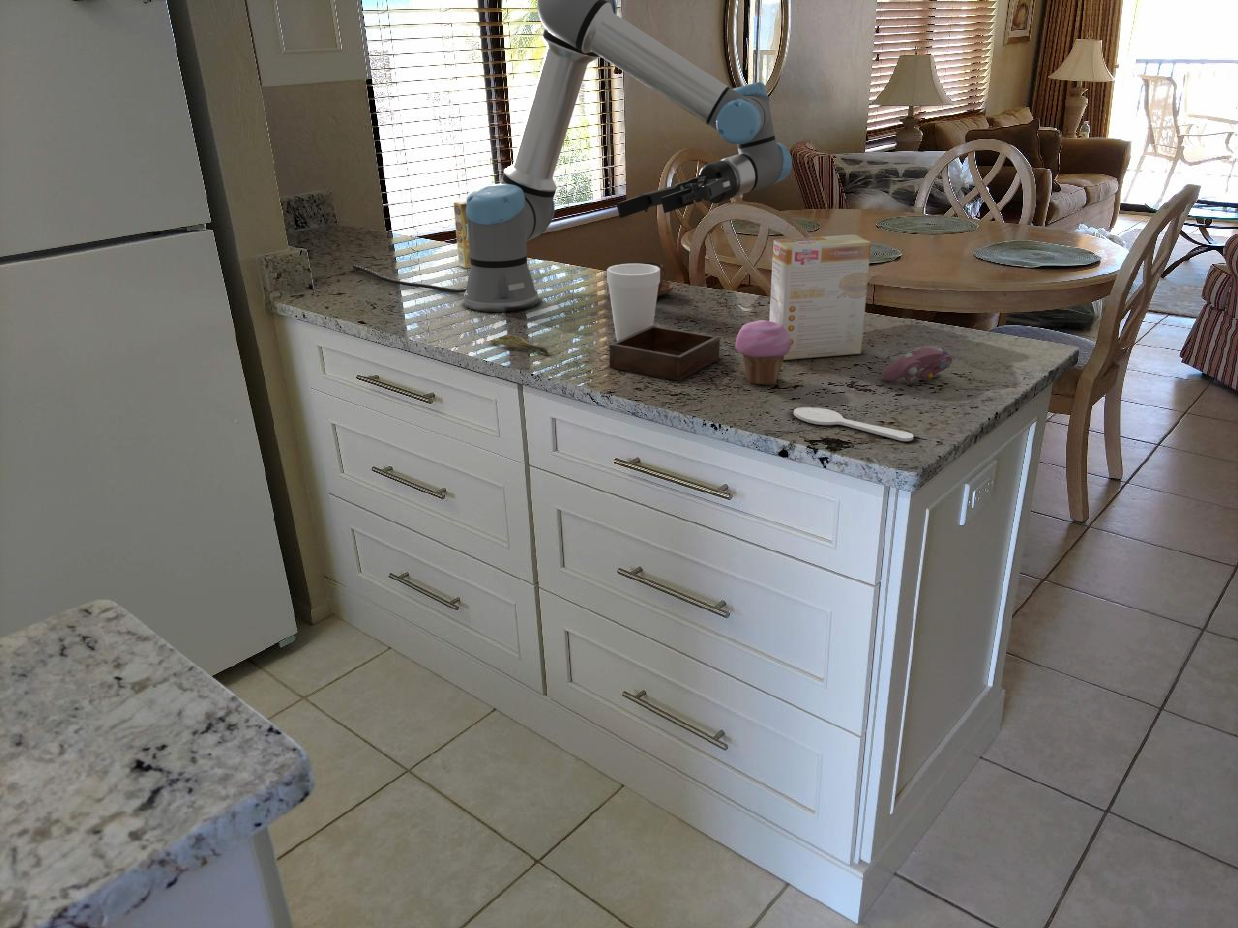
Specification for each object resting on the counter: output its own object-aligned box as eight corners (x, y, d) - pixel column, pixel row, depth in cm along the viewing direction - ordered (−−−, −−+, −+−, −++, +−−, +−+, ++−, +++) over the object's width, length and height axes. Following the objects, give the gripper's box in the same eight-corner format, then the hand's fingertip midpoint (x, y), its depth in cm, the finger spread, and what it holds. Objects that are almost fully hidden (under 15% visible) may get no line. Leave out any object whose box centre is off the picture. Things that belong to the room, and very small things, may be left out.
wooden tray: (609, 367, 161) (609, 344, 160) (651, 347, 172) (651, 325, 170) (679, 381, 154) (680, 357, 153) (719, 359, 165) (720, 336, 163)
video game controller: (893, 396, 151) (910, 363, 146) (878, 376, 154) (895, 343, 149) (943, 387, 155) (961, 355, 150) (927, 367, 157) (945, 335, 152)
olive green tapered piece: (543, 357, 167) (542, 346, 166) (488, 348, 174) (487, 337, 173) (558, 351, 170) (557, 340, 169) (503, 342, 177) (502, 332, 176)
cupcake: (788, 391, 149) (792, 329, 145) (732, 389, 151) (734, 327, 146) (789, 373, 157) (792, 314, 153) (736, 371, 159) (738, 312, 154)
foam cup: (654, 348, 171) (654, 276, 165) (603, 346, 172) (602, 274, 167) (662, 333, 179) (663, 264, 174) (614, 331, 181) (613, 262, 176)
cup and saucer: (632, 285, 214) (632, 258, 212) (682, 291, 209) (682, 262, 207) (608, 298, 204) (608, 269, 202) (660, 303, 199) (660, 274, 197)
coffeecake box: (844, 343, 172) (854, 233, 164) (862, 354, 166) (873, 241, 158) (766, 349, 170) (772, 238, 162) (780, 361, 163) (787, 246, 155)
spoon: (904, 445, 129) (904, 442, 128) (786, 416, 139) (786, 413, 139) (920, 433, 132) (920, 430, 132) (803, 406, 143) (804, 403, 142)
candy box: (465, 269, 232) (460, 204, 225) (458, 266, 235) (452, 202, 229) (498, 264, 236) (494, 200, 230) (489, 261, 239) (485, 198, 233)
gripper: (774, 194, 176) (688, 224, 165) (688, 204, 196) (606, 232, 186) (767, 152, 173) (679, 180, 163) (680, 166, 193) (597, 193, 183)
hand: (640, 208), depth 174 cm, fingers open, 13 cm apart
